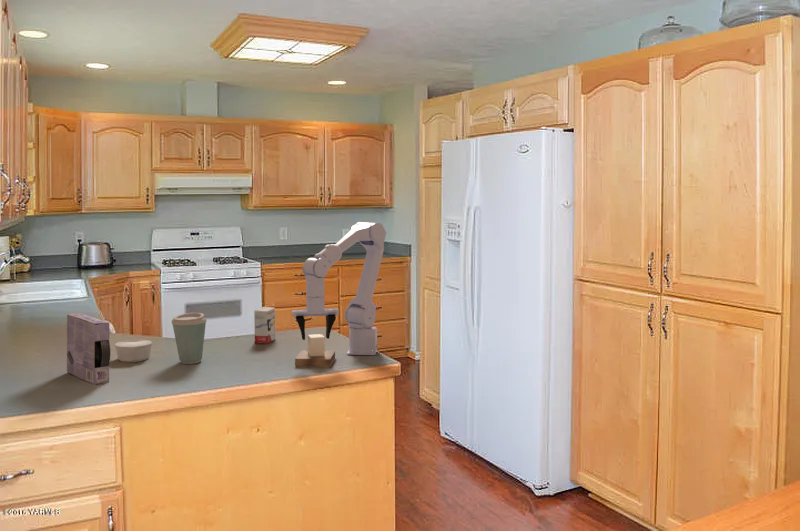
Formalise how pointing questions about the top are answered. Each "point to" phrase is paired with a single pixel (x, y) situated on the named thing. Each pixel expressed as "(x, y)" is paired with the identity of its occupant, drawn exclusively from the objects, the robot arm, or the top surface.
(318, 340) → the cream block
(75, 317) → the cake pan box
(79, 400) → the top surface
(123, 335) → the top surface
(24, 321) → the top surface
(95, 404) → the top surface
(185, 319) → the disposable coffee cup
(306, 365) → the walnut block
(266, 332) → the ink box
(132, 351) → the ramekin
